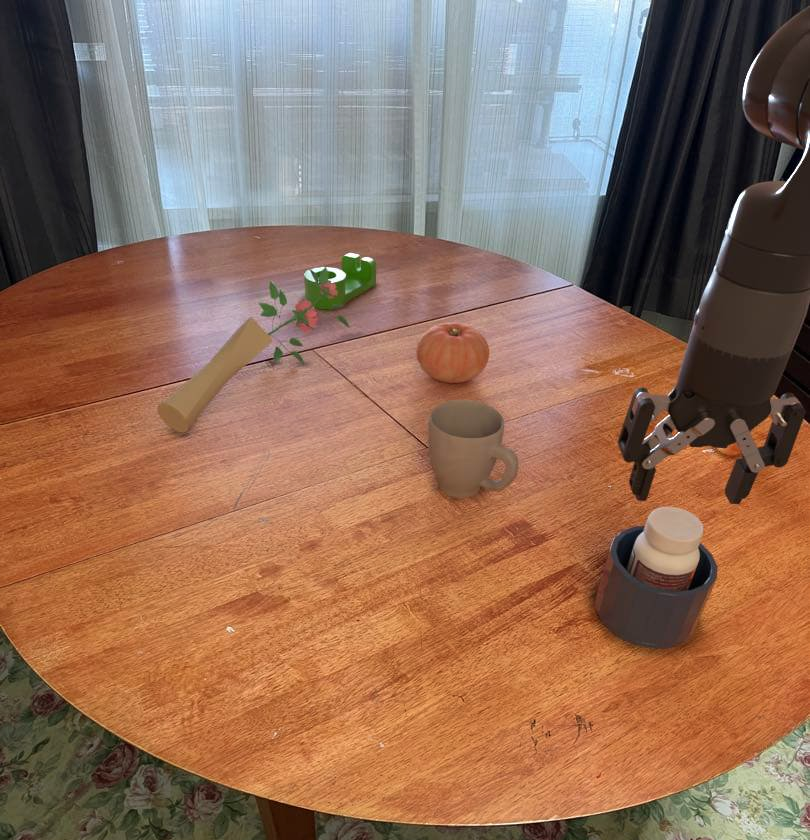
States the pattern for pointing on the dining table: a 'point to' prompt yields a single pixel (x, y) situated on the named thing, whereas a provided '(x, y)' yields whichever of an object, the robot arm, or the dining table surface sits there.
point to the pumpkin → (452, 352)
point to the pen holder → (650, 599)
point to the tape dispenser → (342, 281)
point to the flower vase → (240, 356)
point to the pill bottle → (667, 549)
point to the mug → (468, 448)
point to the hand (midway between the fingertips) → (685, 497)
